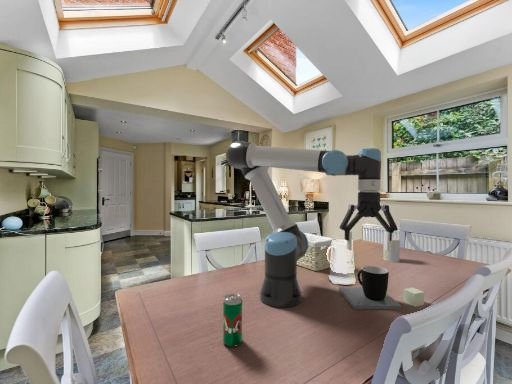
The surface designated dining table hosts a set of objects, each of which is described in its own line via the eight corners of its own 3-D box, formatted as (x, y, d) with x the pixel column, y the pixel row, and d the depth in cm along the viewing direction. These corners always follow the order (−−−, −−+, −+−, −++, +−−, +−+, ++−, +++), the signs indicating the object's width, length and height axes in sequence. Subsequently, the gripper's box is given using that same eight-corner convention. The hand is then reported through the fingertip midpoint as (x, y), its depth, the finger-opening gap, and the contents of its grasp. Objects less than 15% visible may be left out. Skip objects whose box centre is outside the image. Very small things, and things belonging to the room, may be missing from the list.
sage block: (414, 306, 89) (414, 293, 89) (403, 301, 93) (403, 288, 93) (424, 304, 90) (424, 292, 90) (412, 299, 94) (412, 287, 94)
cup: (380, 258, 148) (380, 237, 148) (391, 257, 150) (391, 237, 150) (391, 262, 140) (391, 240, 140) (403, 261, 143) (403, 239, 142)
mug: (394, 299, 91) (394, 271, 91) (376, 304, 87) (376, 275, 87) (366, 287, 102) (366, 262, 102) (349, 291, 98) (349, 265, 98)
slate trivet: (353, 308, 87) (353, 305, 87) (338, 289, 103) (338, 286, 103) (401, 309, 87) (401, 305, 87) (379, 290, 103) (379, 287, 103)
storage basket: (282, 261, 143) (282, 234, 142) (303, 256, 152) (304, 231, 151) (315, 273, 123) (315, 242, 122) (337, 267, 132) (337, 238, 132)
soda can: (243, 336, 70) (243, 293, 70) (241, 348, 65) (241, 301, 65) (224, 336, 71) (224, 292, 70) (221, 347, 66) (221, 301, 65)
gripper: (337, 191, 90) (336, 251, 91) (409, 192, 90) (407, 252, 90) (331, 191, 98) (330, 246, 98) (397, 191, 97) (396, 247, 98)
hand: (367, 249), depth 94 cm, fingers open, 13 cm apart
